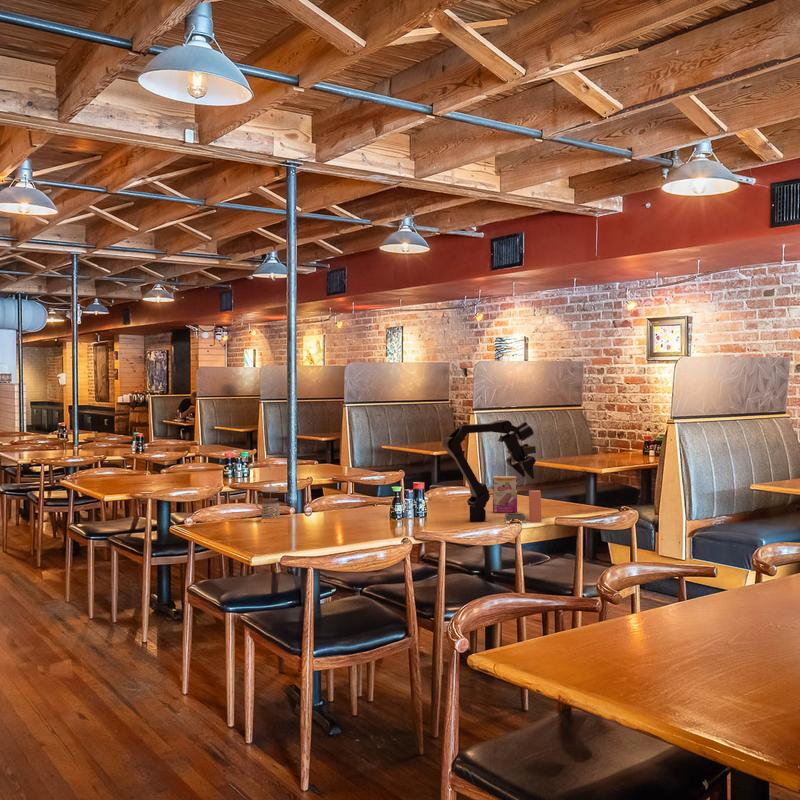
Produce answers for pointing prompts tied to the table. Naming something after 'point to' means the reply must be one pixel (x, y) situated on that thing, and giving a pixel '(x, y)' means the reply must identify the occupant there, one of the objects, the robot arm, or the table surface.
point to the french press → (269, 503)
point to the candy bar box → (504, 494)
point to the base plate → (515, 517)
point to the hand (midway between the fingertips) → (528, 477)
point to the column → (534, 505)
